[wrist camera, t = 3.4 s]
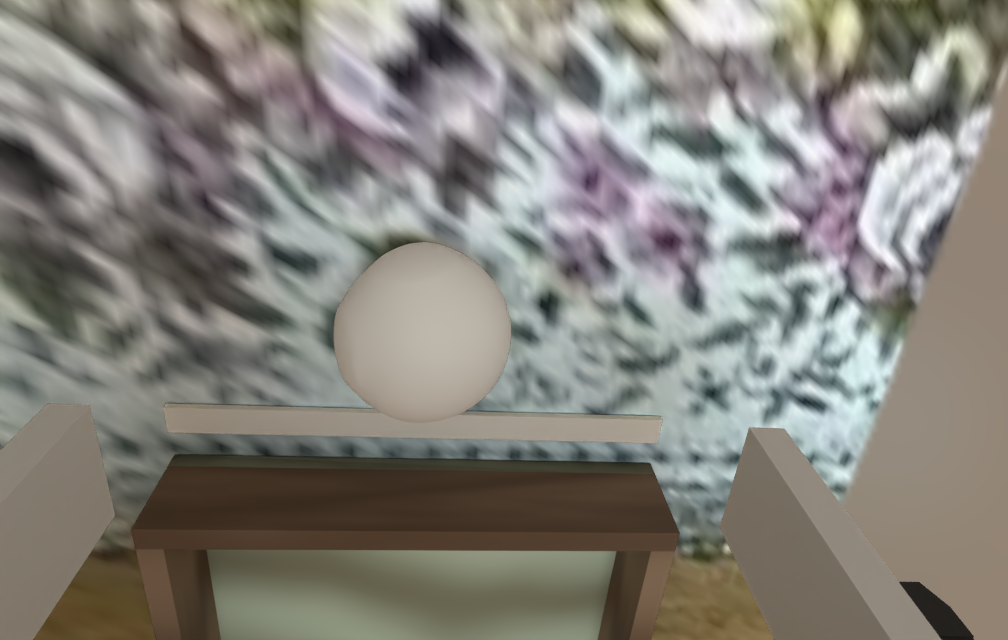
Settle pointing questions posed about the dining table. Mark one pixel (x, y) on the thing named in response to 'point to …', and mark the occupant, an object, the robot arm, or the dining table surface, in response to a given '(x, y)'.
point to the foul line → (409, 424)
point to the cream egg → (422, 333)
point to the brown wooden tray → (404, 549)
